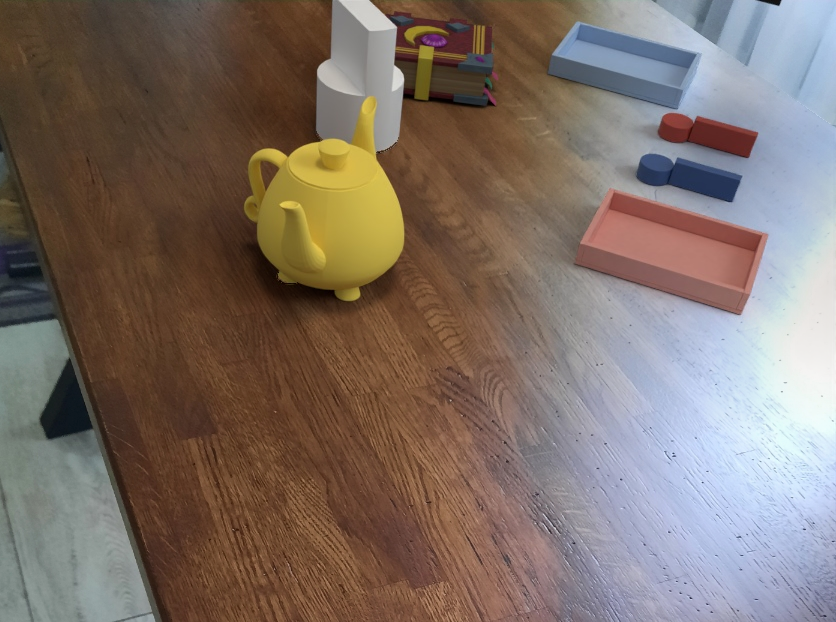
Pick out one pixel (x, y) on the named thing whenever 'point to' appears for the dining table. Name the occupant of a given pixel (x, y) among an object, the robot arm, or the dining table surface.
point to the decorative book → (444, 58)
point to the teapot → (328, 212)
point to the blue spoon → (688, 176)
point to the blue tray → (625, 64)
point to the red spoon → (707, 133)
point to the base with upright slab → (359, 74)
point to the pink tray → (673, 250)
